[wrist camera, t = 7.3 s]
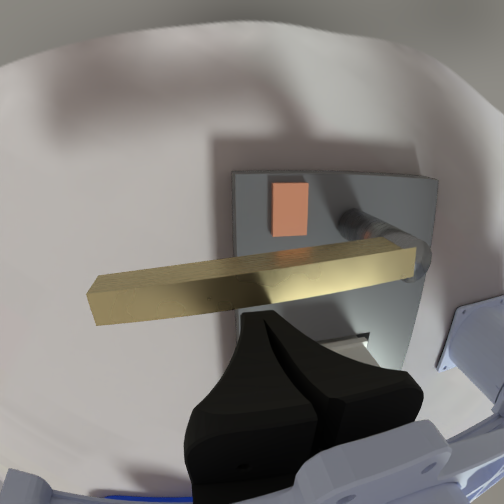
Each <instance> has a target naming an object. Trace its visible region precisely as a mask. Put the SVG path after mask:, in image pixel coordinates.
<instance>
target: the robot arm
mask: <svg viewBox="0 0 504 504" xmlns="http://www.w3.org/2000/svg"><path fill="white" fill-rule="evenodd" d="M456 366H457V367H458V368H459V369H460V370H461V371H462V372H463V373H464V374H465V375H466V376H467V377H468V378H469V379H470V380H471V381H472V382H473V383H474V384H475V385H476V386H477V387H478V388H479V389H480V390H481V391H482V392H483V393H484V395H485V396H486V397H487V398H488V399H489V400H490V401H491V402H492V403H493V404H494V407H493V408H492V409H491V410H492V411H493V413H494V414H493V415H491V416H490V417H488V418H486V419H485V420H483V421H481V422H480V423H478V424H476V425H474V426H472V427H471V428H469V429H467V430H465V431H463V432H461V433H459V434H457V435H456V436H454V437H452V438H450V439H448V440H445V438H444V437H443V436H442V434H441V433H440V432H439V430H438V429H437V428H436V426H435V425H434V424H433V423H432V422H431V421H429V420H421V421H416V422H414V421H415V419H416V417H417V415H418V413H419V411H420V408H421V406H422V402H423V399H424V394H423V391H422V389H421V387H420V386H419V385H418V384H417V383H416V381H415V380H414V379H413V378H412V377H411V375H410V374H409V373H408V372H407V371H400V370H393V369H387V368H382V367H377V366H373V365H369V364H366V363H363V362H359V361H356V360H354V359H351V358H348V357H346V356H343V355H341V354H338V353H336V352H334V351H332V350H330V349H328V348H326V347H324V346H322V345H321V344H319V343H317V342H316V341H314V340H313V339H311V338H309V337H308V336H306V335H305V334H303V333H302V332H301V331H299V330H298V329H297V328H295V327H294V326H293V325H291V324H290V323H289V322H288V321H286V320H285V319H284V318H283V317H282V316H280V315H279V314H278V313H277V312H275V311H274V310H265V311H254V312H243V313H242V314H241V315H240V335H239V340H238V343H237V346H236V349H235V352H234V354H233V357H232V359H231V361H230V363H229V365H228V367H227V369H226V371H225V372H224V374H223V376H222V377H221V379H220V380H219V382H218V383H217V384H216V385H215V387H214V388H213V389H212V390H211V392H210V393H209V394H208V395H207V396H206V397H205V398H204V399H203V400H202V401H201V402H200V403H199V404H198V405H197V406H196V407H195V408H194V409H193V411H192V414H191V416H190V419H189V422H188V426H187V429H186V433H185V439H184V459H185V465H186V468H187V471H188V474H189V477H190V480H191V483H192V496H193V502H184V503H166V502H139V501H125V500H115V499H106V498H98V497H91V496H84V495H78V494H72V493H67V492H62V491H57V490H52V488H51V487H50V485H49V484H48V483H47V482H46V481H45V480H44V479H43V478H41V477H39V476H37V475H34V474H30V473H26V472H23V471H19V470H15V469H12V468H10V469H8V472H7V475H6V478H5V481H4V484H3V487H2V490H1V493H0V504H471V503H470V502H471V501H473V500H474V499H476V498H477V497H478V496H480V495H481V494H482V493H484V492H485V491H486V490H488V489H489V488H490V487H491V486H493V485H494V484H495V483H497V482H498V481H499V480H500V479H501V478H503V477H504V295H502V296H499V297H495V298H492V299H488V300H485V301H481V302H477V303H473V304H469V305H465V306H461V307H459V308H458V309H457V310H456V312H455V316H454V319H453V322H452V326H451V329H450V332H449V335H448V338H447V341H446V344H445V347H444V350H443V353H442V356H441V358H440V361H439V364H438V366H437V371H438V372H439V373H440V372H443V371H446V370H448V369H451V368H454V367H456Z"/></svg>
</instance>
